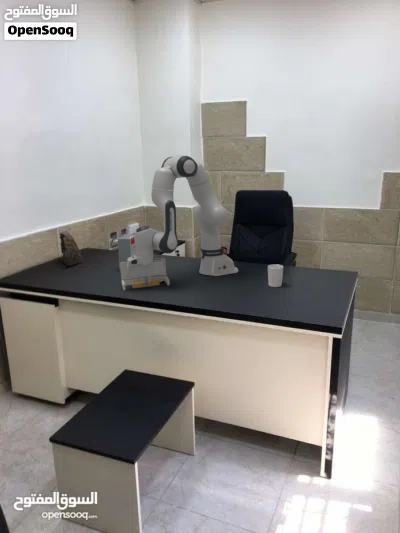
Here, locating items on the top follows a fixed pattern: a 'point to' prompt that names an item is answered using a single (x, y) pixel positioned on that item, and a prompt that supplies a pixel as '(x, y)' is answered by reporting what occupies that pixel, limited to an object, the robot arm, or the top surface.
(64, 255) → the owl
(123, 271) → the panel
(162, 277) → the duct
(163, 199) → the robot arm
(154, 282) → the wooden block
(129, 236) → the hard drive box
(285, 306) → the top surface
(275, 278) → the white cup
